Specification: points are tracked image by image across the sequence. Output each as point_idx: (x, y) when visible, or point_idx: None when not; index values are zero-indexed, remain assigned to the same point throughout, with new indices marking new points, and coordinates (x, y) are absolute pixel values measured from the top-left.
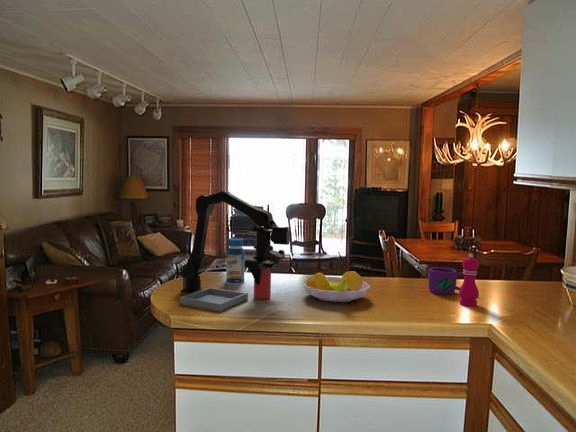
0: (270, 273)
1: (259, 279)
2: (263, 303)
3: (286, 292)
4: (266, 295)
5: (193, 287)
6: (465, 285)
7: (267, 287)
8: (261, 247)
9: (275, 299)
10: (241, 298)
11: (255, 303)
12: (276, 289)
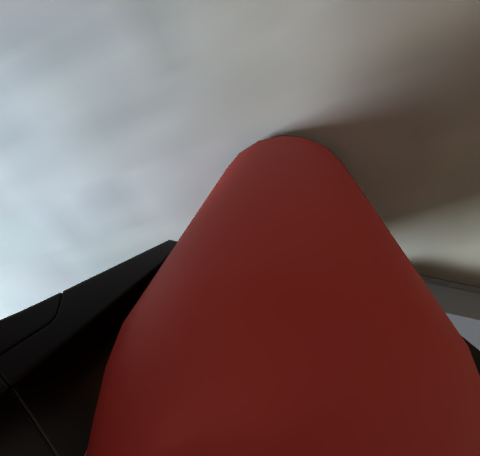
0: (285, 283)
1: (468, 346)
2: (465, 134)
3: (33, 61)
4: (337, 160)
5: None
6: None
7: (346, 180)
8: None
9: (297, 72)
10: (472, 305)
11: (466, 197)
12: (25, 172)
